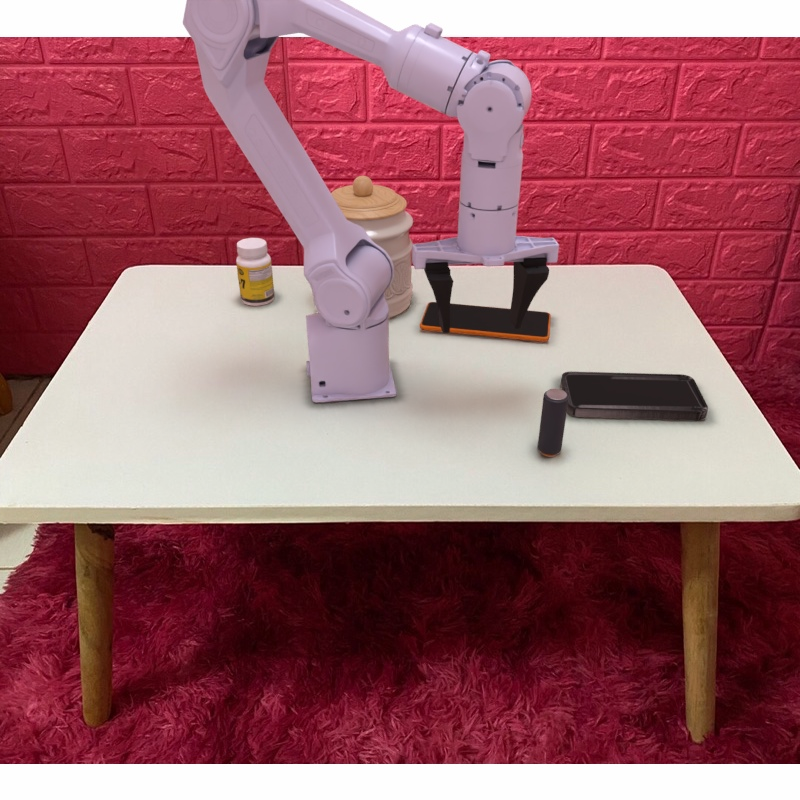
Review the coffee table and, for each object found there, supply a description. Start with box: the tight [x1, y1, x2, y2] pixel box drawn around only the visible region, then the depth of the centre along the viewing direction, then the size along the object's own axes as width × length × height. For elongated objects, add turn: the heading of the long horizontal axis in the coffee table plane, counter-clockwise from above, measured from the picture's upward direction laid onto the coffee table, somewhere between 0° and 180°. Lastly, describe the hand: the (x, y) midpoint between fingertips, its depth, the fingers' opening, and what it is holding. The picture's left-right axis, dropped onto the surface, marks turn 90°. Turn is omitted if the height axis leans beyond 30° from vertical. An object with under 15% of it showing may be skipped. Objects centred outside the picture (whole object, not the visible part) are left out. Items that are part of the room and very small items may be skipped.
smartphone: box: [419, 301, 552, 342], centre depth 102 cm, size 8×17×1 cm, turn 79°
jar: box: [330, 175, 414, 319], centre depth 103 cm, size 13×13×18 cm
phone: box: [560, 371, 709, 421], centre depth 86 cm, size 8×1×15 cm
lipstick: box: [537, 388, 569, 458], centre depth 77 cm, size 2×2×7 cm
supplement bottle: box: [235, 237, 276, 307], centre depth 106 cm, size 5×5×8 cm
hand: (480, 326), depth 82 cm, fingers open, 7 cm apart
